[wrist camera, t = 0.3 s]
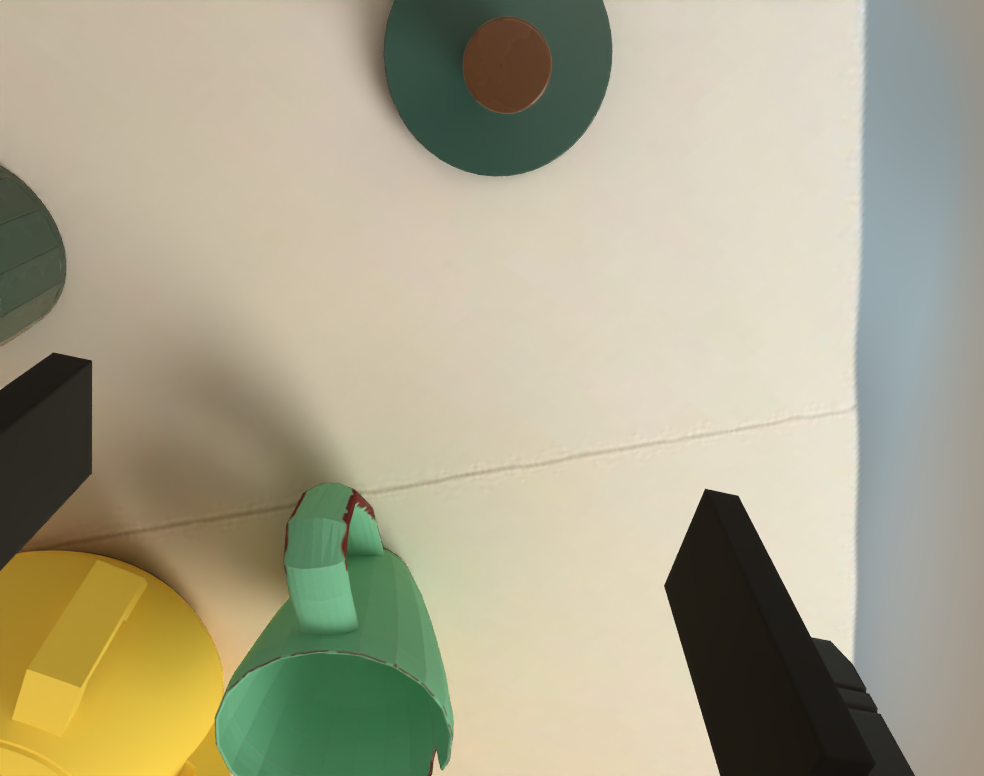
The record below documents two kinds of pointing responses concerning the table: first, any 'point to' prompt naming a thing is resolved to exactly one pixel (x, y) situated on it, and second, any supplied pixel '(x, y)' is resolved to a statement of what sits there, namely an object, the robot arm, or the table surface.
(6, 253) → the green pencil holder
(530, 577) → the table surface
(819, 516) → the table surface
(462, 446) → the table surface
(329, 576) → the mug
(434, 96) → the ring toss peg stand
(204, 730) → the teapot
